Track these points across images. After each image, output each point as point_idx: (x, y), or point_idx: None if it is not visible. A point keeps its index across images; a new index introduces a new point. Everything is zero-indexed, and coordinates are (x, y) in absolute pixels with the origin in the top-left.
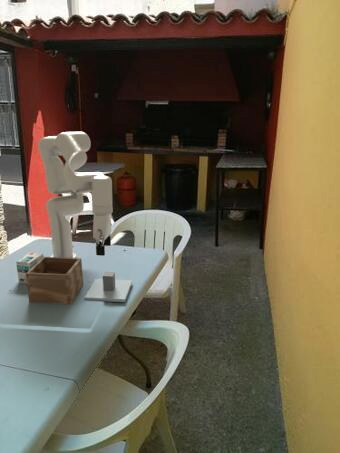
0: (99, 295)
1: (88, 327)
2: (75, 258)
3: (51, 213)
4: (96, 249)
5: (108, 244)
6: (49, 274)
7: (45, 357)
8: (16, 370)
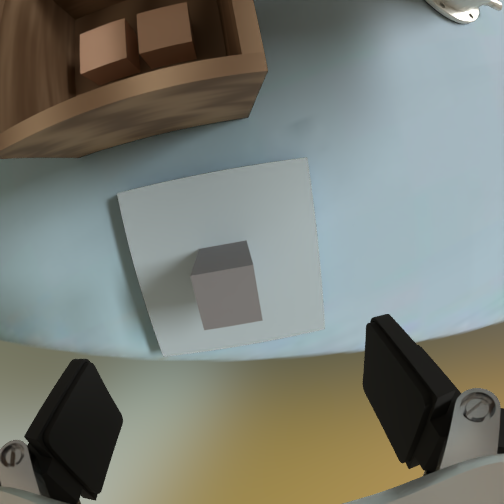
0: (152, 251)
1: (16, 284)
2: (250, 29)
3: None
4: (48, 404)
5: (368, 384)
6: None
7: None
8: None
